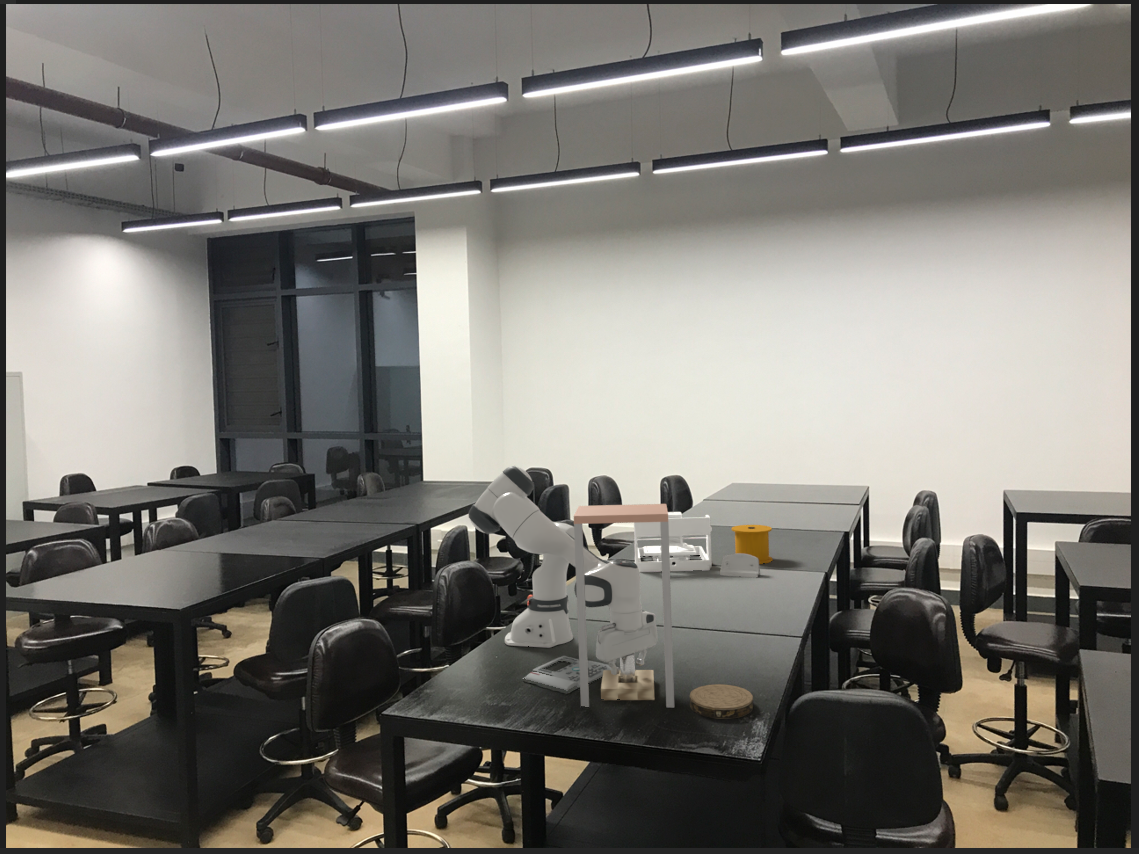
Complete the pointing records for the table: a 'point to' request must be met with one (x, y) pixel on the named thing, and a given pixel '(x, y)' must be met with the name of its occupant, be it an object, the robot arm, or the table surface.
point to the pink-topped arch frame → (584, 517)
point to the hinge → (740, 565)
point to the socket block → (628, 686)
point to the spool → (753, 541)
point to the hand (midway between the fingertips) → (627, 669)
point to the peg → (627, 668)
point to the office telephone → (566, 673)
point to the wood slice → (721, 701)
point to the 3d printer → (674, 543)
